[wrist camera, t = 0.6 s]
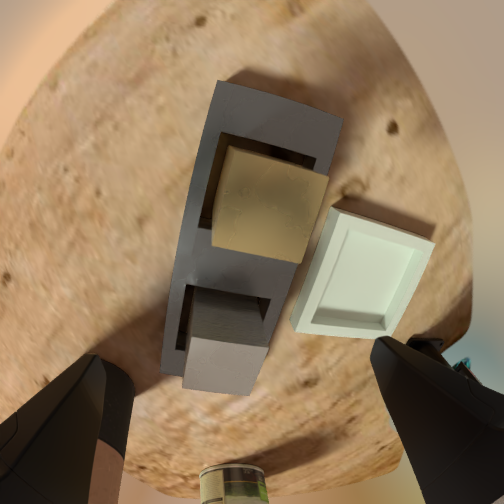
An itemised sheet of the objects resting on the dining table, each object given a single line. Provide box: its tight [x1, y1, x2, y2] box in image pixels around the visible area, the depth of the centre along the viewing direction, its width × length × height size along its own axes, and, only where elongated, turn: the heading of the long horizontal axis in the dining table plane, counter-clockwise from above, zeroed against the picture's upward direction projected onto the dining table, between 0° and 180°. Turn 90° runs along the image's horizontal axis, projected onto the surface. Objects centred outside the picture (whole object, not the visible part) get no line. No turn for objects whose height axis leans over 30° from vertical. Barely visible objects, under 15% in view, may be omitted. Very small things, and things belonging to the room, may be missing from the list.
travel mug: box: [88, 360, 135, 504], centre depth 16 cm, size 8×8×20 cm
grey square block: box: [182, 286, 269, 396], centre depth 20 cm, size 4×4×7 cm
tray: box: [290, 206, 435, 339], centre depth 23 cm, size 10×10×2 cm
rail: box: [160, 80, 344, 377], centre depth 20 cm, size 8×22×2 cm, turn 165°
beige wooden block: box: [212, 145, 330, 264], centre depth 17 cm, size 4×4×7 cm
